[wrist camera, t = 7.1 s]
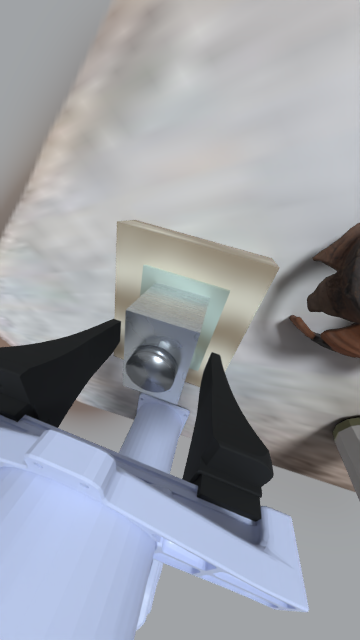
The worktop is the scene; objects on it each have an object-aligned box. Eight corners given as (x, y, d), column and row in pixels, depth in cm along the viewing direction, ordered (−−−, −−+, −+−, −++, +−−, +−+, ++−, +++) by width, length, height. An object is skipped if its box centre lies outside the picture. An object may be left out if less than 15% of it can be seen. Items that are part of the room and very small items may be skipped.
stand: (216, 372, 22) (214, 394, 20) (126, 340, 24) (112, 357, 21) (271, 258, 15) (280, 268, 12) (135, 220, 16) (114, 221, 13)
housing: (190, 360, 18) (173, 417, 13) (147, 346, 19) (115, 396, 14) (209, 297, 14) (197, 343, 9) (156, 282, 15) (116, 318, 10)
